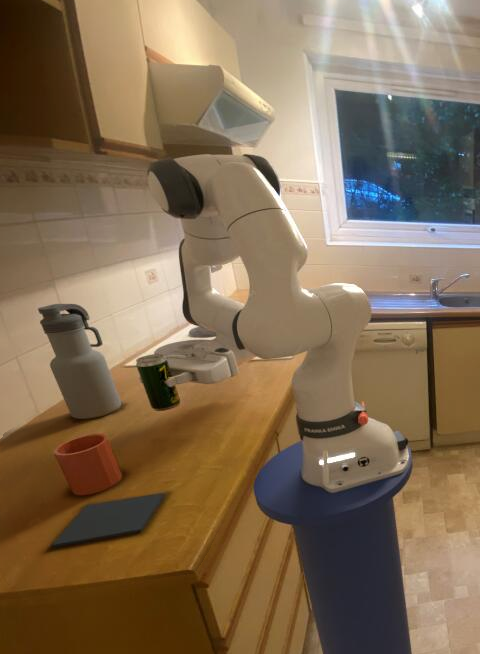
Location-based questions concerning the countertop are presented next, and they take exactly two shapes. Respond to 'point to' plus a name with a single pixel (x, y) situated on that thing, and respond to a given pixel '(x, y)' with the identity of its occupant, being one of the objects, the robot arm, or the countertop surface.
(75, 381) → the water bottle
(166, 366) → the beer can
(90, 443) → the terracotta cup
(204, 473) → the countertop surface
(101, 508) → the slate mat
